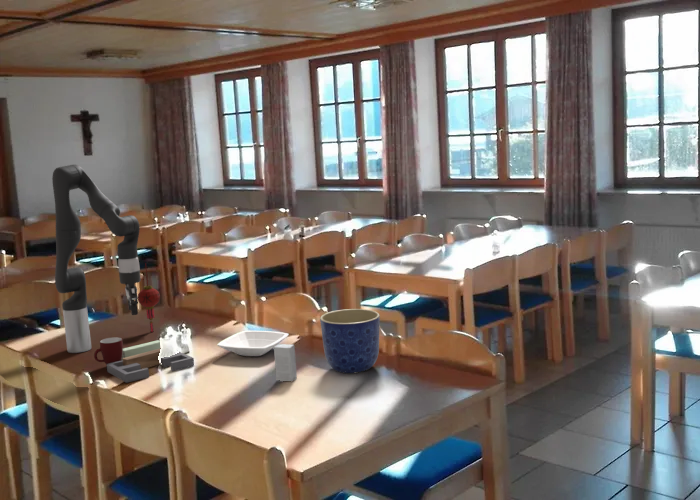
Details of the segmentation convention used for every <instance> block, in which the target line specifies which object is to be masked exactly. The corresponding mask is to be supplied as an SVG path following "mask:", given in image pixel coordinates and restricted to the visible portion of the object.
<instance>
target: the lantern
mask: <svg viewBox="0 0 700 500" xmlns="http://www.w3.org/2000/svg"><path fill="white" fill-rule="evenodd" d="M144 264H145V266H147V263H144ZM145 272H146V276H148V271H147V268H145ZM137 295H138V299H137V300H138V304H140V305H141V306H142V307H144V308H145V310H146V319H148V320H149V321H150V322H149V326H150V333H154V322H153V319H155V306H156V305H157V304H159V302H160V301H161V300H160V299H161V295H160V292H159V291H158V289H156V288H154V287H153V285H149V279H148V278H146V285H144V286H143V289H141V290H140V291H139V293H137Z"/></svg>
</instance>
